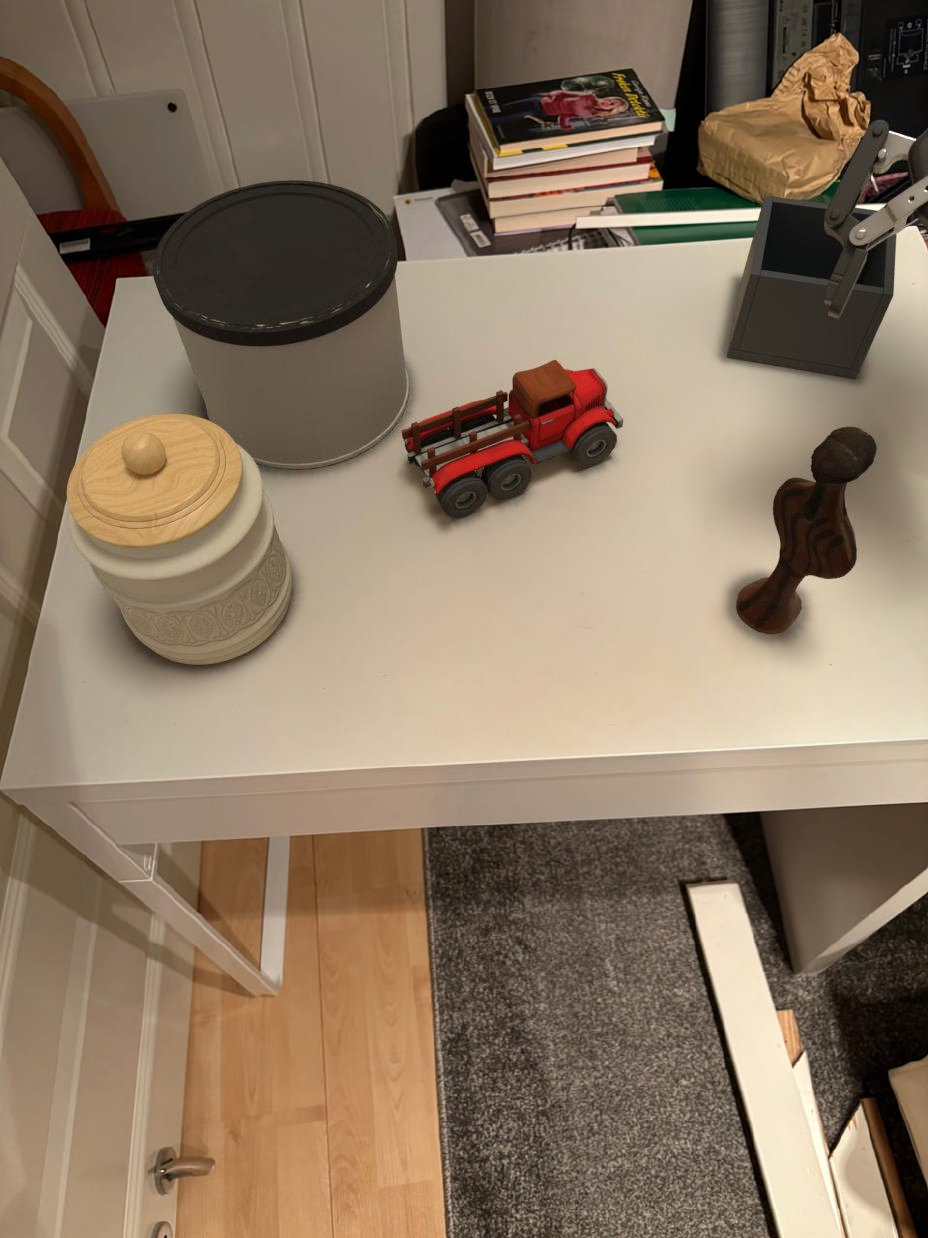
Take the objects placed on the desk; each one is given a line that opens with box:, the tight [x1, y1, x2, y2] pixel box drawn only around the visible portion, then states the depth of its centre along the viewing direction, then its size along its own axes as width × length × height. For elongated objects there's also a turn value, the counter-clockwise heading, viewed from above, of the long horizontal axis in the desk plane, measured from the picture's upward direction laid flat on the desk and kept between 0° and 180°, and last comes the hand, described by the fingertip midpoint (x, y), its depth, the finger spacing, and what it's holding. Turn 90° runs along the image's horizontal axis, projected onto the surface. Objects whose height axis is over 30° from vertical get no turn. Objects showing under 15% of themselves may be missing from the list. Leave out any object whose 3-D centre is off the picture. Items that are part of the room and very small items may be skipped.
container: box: [152, 179, 410, 470], centre depth 75 cm, size 19×19×15 cm
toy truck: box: [401, 359, 624, 519], centre depth 73 cm, size 8×18×8 cm, turn 116°
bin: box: [726, 195, 897, 379], centre depth 80 cm, size 12×12×9 cm
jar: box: [66, 413, 293, 666], centre depth 62 cm, size 13×13×18 cm
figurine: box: [736, 426, 878, 635], centre depth 60 cm, size 7×5×18 cm
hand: (904, 338), depth 53 cm, fingers open, 8 cm apart
